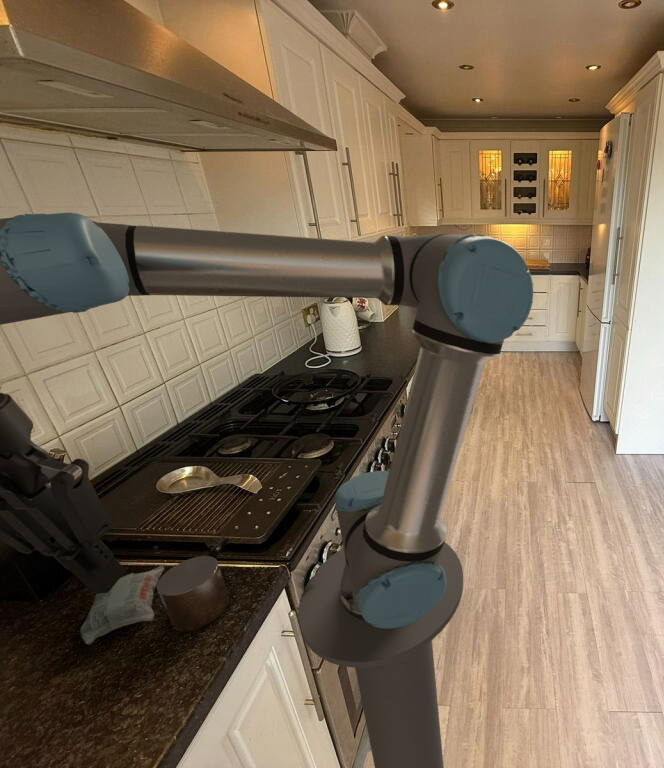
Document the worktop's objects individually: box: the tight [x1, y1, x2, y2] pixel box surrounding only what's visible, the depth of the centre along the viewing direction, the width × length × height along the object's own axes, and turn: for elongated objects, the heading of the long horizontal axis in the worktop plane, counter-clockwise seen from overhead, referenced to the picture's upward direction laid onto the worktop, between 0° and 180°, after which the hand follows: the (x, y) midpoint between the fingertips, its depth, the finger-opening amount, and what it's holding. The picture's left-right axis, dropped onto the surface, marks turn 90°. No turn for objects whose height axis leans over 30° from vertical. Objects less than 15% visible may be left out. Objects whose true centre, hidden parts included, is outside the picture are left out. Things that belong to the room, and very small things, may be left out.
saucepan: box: [156, 535, 230, 633], centre depth 71 cm, size 8×15×8 cm, turn 7°
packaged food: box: [80, 565, 165, 645], centre depth 68 cm, size 9×12×5 cm
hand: (110, 581), depth 46 cm, fingers closed
